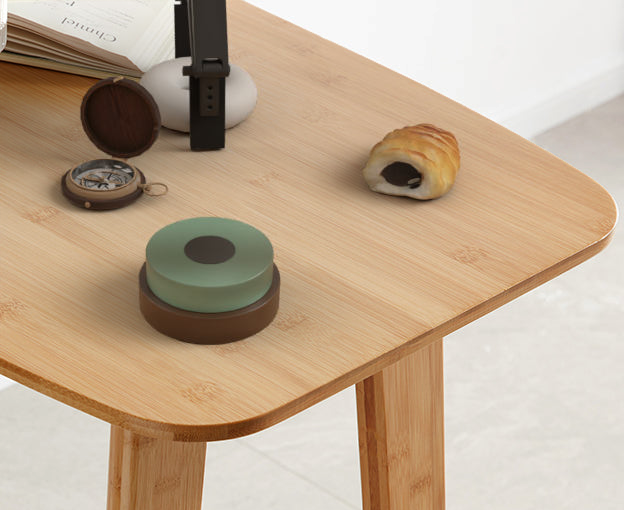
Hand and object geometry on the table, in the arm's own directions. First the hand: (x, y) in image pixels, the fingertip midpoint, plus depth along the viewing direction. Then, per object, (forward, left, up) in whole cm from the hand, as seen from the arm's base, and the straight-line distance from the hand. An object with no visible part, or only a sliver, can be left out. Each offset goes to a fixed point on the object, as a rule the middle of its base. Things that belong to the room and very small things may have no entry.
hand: (198, 110), depth 95 cm
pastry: (+12, +15, 0) cm, 20 cm away
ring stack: (+27, -2, 0) cm, 27 cm away
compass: (+12, -7, 0) cm, 14 cm away
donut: (0, 0, 0) cm, 0 cm away
